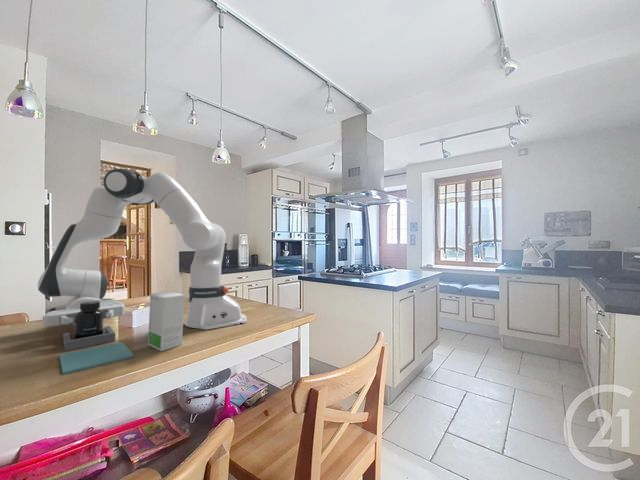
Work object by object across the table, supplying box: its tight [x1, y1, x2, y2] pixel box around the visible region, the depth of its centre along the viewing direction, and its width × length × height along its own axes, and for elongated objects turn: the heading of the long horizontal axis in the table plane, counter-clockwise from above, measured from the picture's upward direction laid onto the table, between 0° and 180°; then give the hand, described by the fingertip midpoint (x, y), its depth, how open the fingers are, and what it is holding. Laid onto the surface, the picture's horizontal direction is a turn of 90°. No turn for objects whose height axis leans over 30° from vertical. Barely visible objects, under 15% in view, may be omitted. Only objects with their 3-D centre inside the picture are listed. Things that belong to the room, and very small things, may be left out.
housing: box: [62, 325, 116, 352], centre depth 85 cm, size 10×11×2 cm
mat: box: [59, 341, 135, 375], centre depth 74 cm, size 14×14×1 cm
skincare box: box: [147, 290, 185, 352], centre depth 83 cm, size 8×7×16 cm
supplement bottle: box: [73, 301, 104, 340], centre depth 86 cm, size 7×7×12 cm
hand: (89, 318), depth 86 cm, fingers open, 8 cm apart
